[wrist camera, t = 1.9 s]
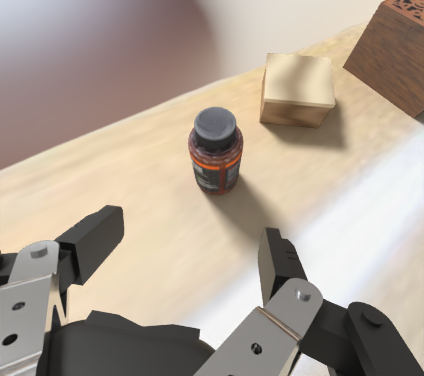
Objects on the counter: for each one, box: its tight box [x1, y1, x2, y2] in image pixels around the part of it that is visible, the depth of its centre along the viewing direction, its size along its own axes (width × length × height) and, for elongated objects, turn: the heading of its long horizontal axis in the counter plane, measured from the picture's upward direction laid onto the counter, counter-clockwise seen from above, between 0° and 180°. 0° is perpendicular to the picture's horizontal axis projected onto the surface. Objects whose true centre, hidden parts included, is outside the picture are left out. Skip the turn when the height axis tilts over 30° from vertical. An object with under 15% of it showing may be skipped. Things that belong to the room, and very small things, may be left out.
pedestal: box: [260, 53, 336, 128], centre depth 33 cm, size 9×9×5 cm
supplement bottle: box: [188, 107, 243, 195], centre depth 25 cm, size 6×6×11 cm
